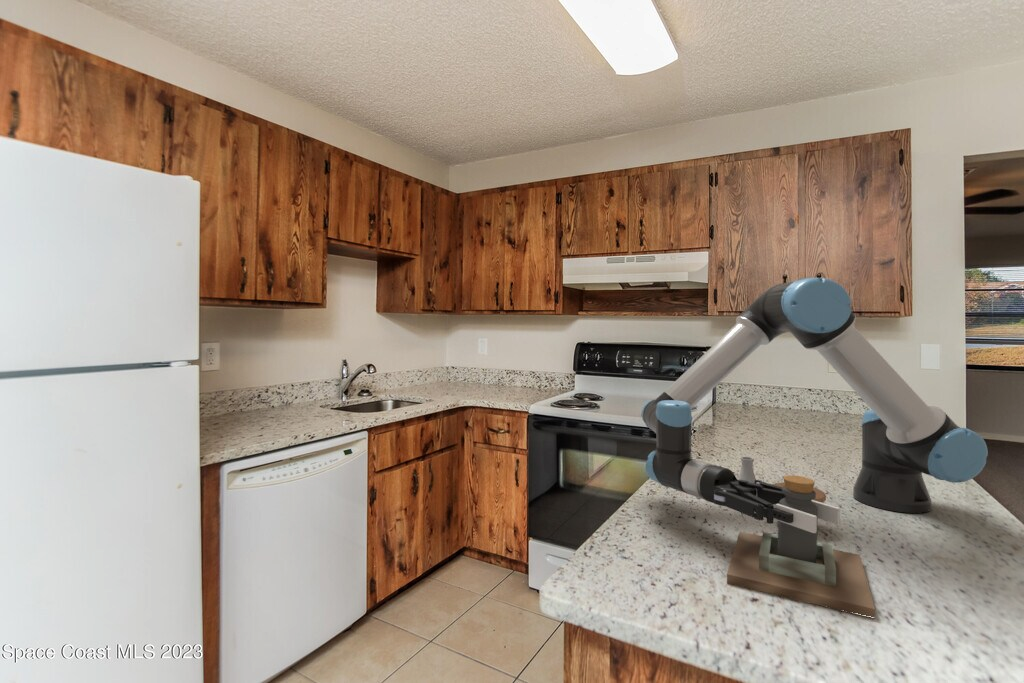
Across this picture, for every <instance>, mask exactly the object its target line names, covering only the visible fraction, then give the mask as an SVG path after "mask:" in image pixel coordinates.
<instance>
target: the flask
mask: <svg viewBox="0 0 1024 683" xmlns="http://www.w3.org/2000/svg"><path fill="white" fill-rule="evenodd" d="M740 460H741V466H740V471H739V473H738V474H739V475H738V477H737V480H745V481H748V482H750V483H754V480H757V478H756V475H755V473H754V468H753V467H754V461H755V458H754V457H752V456H744V455H743V456H740ZM756 496H757V494H756Z"/></svg>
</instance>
